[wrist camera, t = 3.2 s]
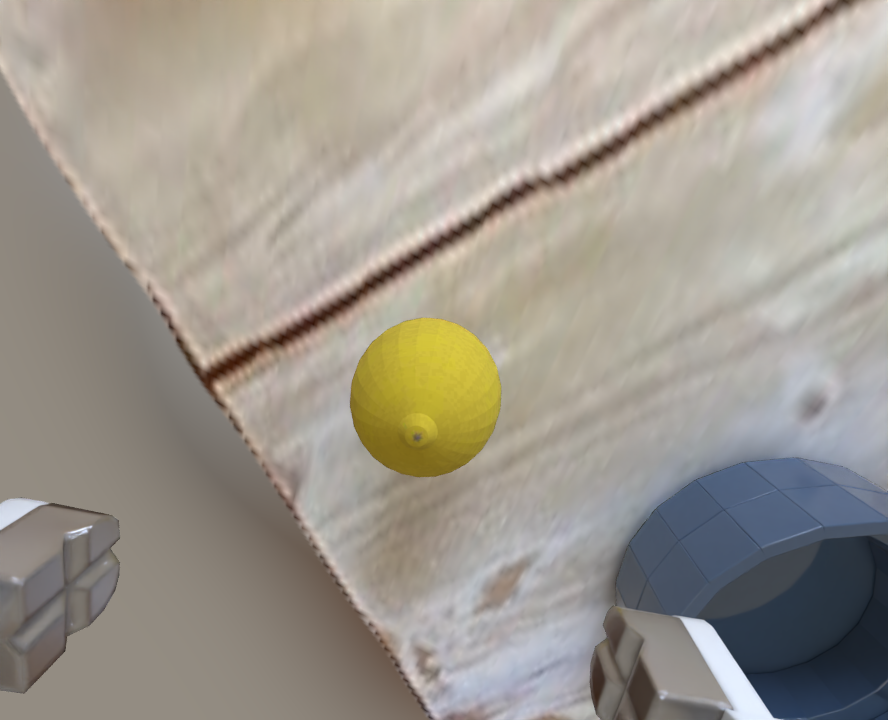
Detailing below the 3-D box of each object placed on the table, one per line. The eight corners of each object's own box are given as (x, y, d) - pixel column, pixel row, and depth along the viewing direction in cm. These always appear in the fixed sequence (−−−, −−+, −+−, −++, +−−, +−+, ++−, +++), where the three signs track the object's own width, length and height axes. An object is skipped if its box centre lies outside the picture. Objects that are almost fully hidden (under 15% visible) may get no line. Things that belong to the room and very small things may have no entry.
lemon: (442, 442, 22) (430, 552, 14) (350, 370, 21) (285, 446, 14) (519, 357, 21) (552, 427, 13) (424, 278, 20) (400, 303, 12)
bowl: (957, 483, 22) (1118, 563, 16) (835, 711, 25) (934, 837, 20) (660, 426, 21) (725, 488, 16) (580, 663, 25) (612, 777, 20)
